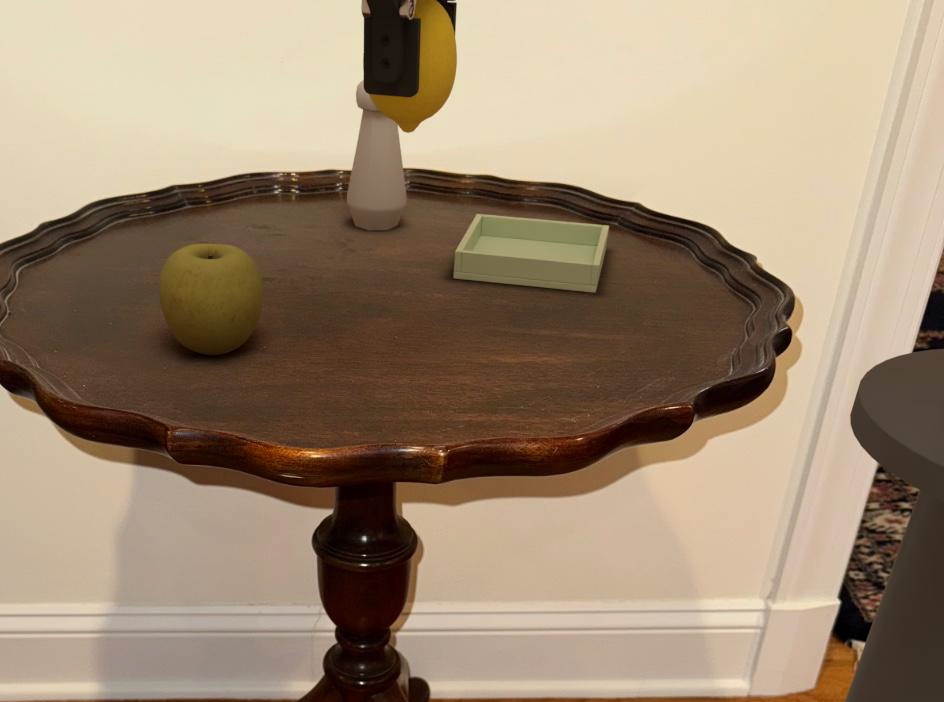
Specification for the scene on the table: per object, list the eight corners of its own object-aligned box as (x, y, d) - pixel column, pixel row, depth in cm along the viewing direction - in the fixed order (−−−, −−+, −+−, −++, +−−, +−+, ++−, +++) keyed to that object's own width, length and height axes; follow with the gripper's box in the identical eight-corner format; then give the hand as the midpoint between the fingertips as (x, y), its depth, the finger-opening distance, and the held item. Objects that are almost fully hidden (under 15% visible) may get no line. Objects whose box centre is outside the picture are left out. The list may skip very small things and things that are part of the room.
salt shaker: (408, 233, 107) (415, 86, 100) (348, 234, 107) (350, 86, 99) (401, 215, 112) (407, 73, 105) (344, 215, 112) (346, 73, 104)
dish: (605, 251, 104) (609, 225, 102) (595, 293, 95) (599, 265, 93) (474, 239, 106) (476, 213, 105) (453, 278, 97) (454, 251, 96)
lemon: (357, 123, 71) (357, -21, 66) (444, 121, 71) (450, -23, 67) (369, 145, 66) (370, -8, 62) (461, 142, 67) (469, -10, 62)
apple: (274, 329, 87) (272, 238, 83) (250, 371, 81) (246, 274, 77) (180, 322, 88) (173, 231, 84) (149, 363, 82) (140, 266, 78)
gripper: (435, -321, 49) (421, 120, 59) (536, -296, 62) (510, 63, 72) (279, -314, 51) (292, 109, 62) (408, -292, 64) (400, 55, 75)
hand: (409, 80), depth 67 cm, fingers closed on lemon, 5 cm apart
